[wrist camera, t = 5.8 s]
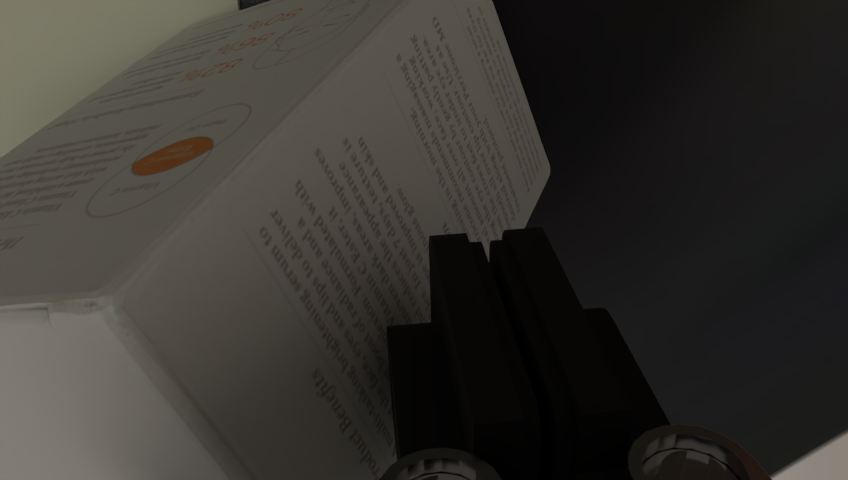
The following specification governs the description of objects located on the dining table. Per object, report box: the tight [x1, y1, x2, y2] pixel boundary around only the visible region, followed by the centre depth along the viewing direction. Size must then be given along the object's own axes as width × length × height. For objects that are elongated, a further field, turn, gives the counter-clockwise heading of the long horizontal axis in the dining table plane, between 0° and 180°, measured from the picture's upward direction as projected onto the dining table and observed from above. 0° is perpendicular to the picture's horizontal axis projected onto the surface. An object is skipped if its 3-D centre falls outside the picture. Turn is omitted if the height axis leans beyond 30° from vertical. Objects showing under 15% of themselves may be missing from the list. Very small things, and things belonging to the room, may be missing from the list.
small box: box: [0, 0, 550, 480], centre depth 14 cm, size 8×6×10 cm
